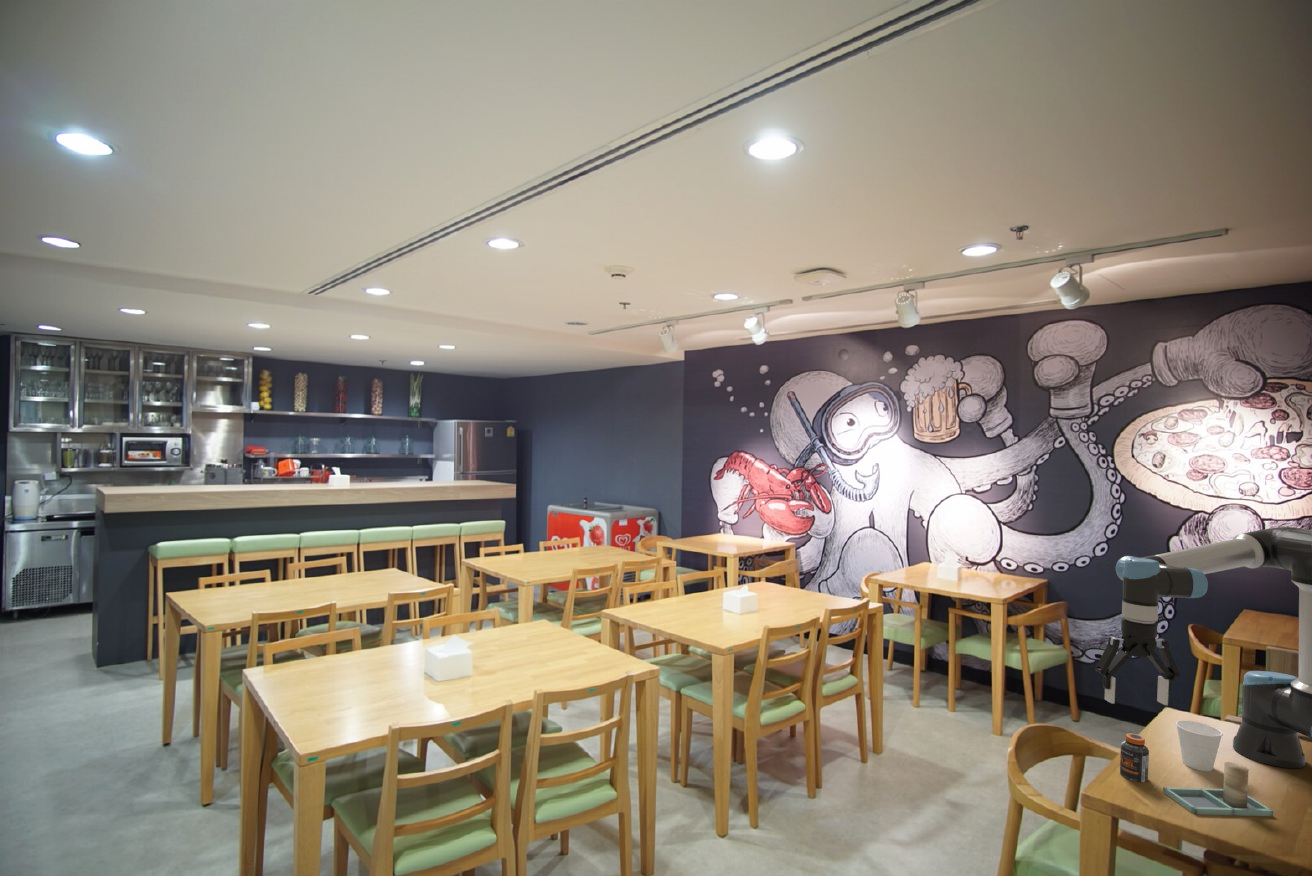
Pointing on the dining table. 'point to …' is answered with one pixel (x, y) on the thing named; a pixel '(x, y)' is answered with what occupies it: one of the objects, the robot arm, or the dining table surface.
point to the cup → (1198, 744)
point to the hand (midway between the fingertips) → (1135, 702)
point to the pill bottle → (1134, 758)
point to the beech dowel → (1235, 785)
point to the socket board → (1213, 802)
